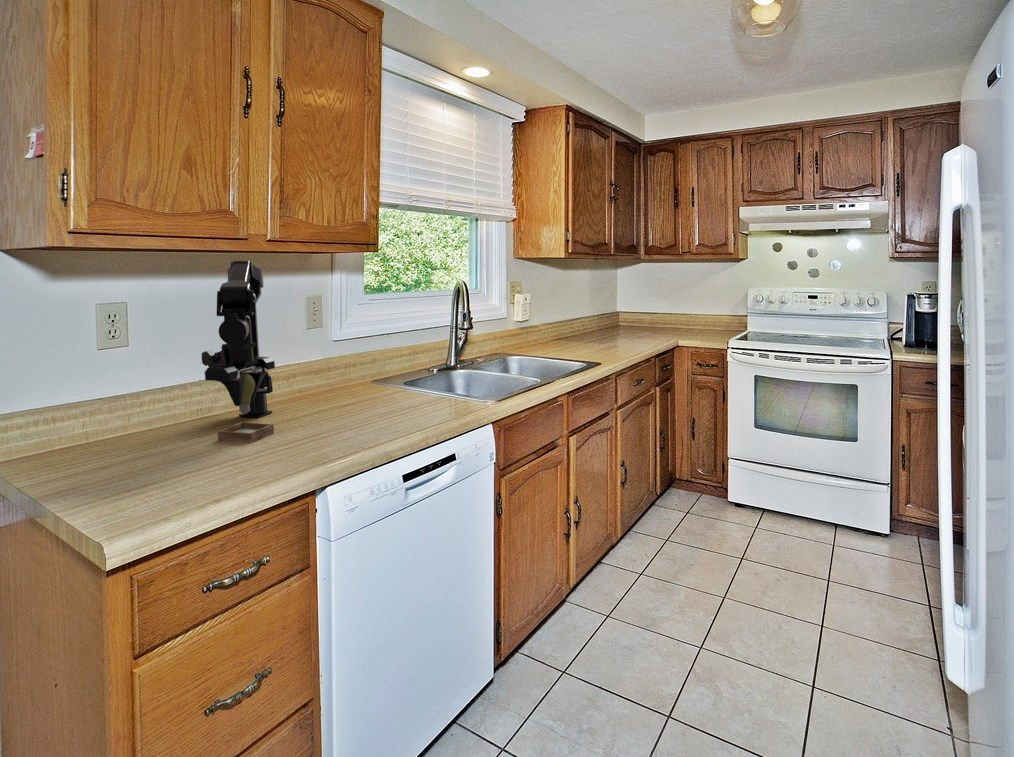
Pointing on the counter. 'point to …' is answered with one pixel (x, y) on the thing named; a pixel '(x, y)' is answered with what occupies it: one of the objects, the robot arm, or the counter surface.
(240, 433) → the tray
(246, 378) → the light bulb
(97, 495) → the counter surface
